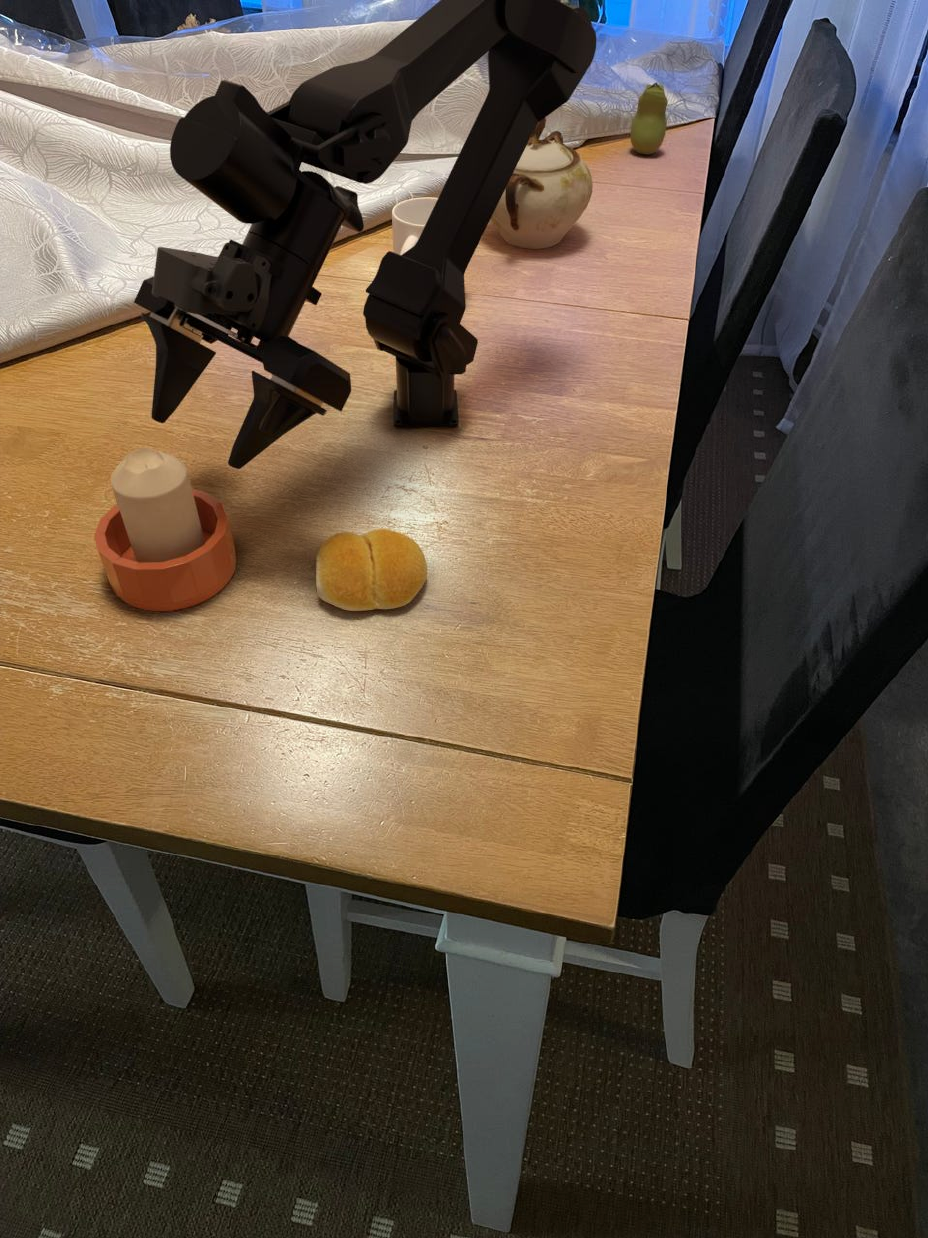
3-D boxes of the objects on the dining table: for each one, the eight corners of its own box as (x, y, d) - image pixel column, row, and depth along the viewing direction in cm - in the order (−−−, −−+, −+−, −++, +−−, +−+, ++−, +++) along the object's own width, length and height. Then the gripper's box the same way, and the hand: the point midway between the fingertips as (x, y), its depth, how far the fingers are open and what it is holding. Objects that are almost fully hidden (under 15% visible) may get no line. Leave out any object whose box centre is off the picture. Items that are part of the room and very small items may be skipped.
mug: (433, 334, 100) (433, 244, 92) (369, 319, 102) (363, 230, 95) (473, 291, 108) (476, 204, 100) (412, 278, 110) (410, 192, 102)
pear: (662, 149, 145) (674, 80, 138) (661, 160, 141) (673, 90, 134) (628, 146, 146) (638, 77, 138) (626, 157, 142) (636, 87, 135)
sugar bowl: (560, 275, 111) (573, 148, 100) (452, 254, 115) (453, 128, 104) (604, 219, 124) (619, 101, 113) (505, 201, 128) (511, 85, 117)
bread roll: (433, 610, 69) (433, 573, 66) (319, 621, 68) (313, 584, 65) (420, 541, 75) (419, 505, 72) (314, 551, 74) (309, 514, 71)
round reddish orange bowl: (227, 610, 69) (216, 568, 65) (97, 612, 68) (80, 570, 65) (243, 528, 76) (234, 486, 72) (125, 529, 75) (111, 487, 72)
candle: (219, 564, 71) (195, 463, 64) (155, 592, 69) (122, 490, 62) (190, 529, 74) (163, 428, 67) (127, 555, 72) (93, 453, 65)
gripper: (122, 162, 62) (34, 363, 64) (304, 236, 54) (196, 463, 56) (229, 239, 72) (150, 411, 74) (396, 311, 64) (301, 502, 66)
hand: (194, 443), depth 67 cm, fingers open, 9 cm apart
